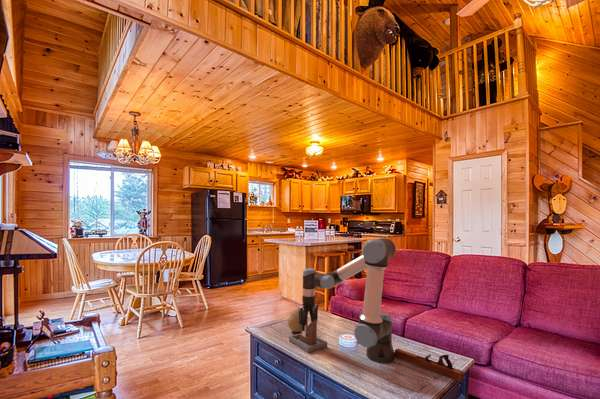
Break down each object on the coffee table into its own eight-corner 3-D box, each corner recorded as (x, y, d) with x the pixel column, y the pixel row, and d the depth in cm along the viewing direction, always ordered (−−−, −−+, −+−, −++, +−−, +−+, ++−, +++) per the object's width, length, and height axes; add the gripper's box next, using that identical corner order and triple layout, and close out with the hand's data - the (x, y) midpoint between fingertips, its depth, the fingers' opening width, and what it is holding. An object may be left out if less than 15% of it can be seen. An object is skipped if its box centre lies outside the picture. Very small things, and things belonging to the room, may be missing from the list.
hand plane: (465, 379, 148) (465, 357, 148) (461, 383, 144) (461, 361, 145) (397, 355, 172) (397, 336, 172) (393, 358, 168) (393, 339, 168)
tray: (327, 347, 179) (327, 342, 180) (307, 353, 171) (307, 347, 172) (307, 336, 195) (307, 331, 195) (288, 341, 187) (289, 336, 187)
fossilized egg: (283, 330, 203) (283, 307, 204) (297, 326, 212) (298, 304, 213) (296, 336, 194) (296, 312, 195) (310, 332, 203) (311, 308, 203)
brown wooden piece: (312, 346, 178) (312, 314, 179) (299, 340, 186) (300, 309, 187) (316, 344, 180) (317, 313, 181) (304, 338, 188) (304, 308, 189)
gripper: (316, 292, 193) (315, 330, 192) (292, 295, 183) (291, 336, 181) (324, 294, 187) (323, 334, 185) (300, 298, 176) (299, 340, 175)
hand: (307, 335), depth 183 cm, fingers open, 5 cm apart
